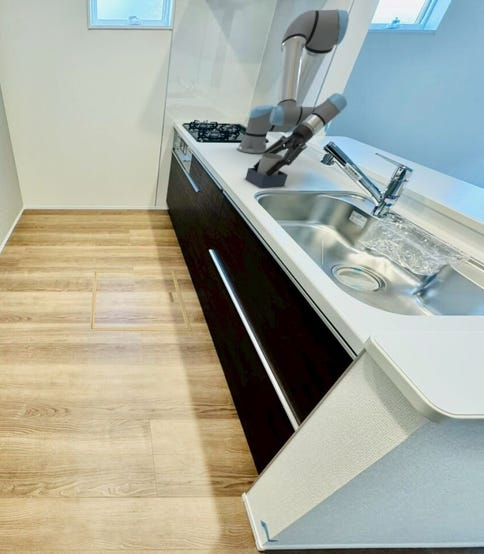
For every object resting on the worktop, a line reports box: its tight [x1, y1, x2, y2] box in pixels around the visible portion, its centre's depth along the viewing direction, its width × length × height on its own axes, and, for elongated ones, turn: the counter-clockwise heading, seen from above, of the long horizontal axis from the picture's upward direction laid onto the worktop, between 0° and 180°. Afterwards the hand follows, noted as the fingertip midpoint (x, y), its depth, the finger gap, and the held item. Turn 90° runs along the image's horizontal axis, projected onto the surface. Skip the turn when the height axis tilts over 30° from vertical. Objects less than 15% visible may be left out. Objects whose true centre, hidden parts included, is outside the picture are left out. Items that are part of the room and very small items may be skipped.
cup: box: [257, 153, 284, 176], centre depth 130 cm, size 8×8×10 cm
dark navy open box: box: [245, 167, 289, 189], centre depth 132 cm, size 12×12×5 cm
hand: (261, 171), depth 130 cm, fingers closed on cup, 8 cm apart
